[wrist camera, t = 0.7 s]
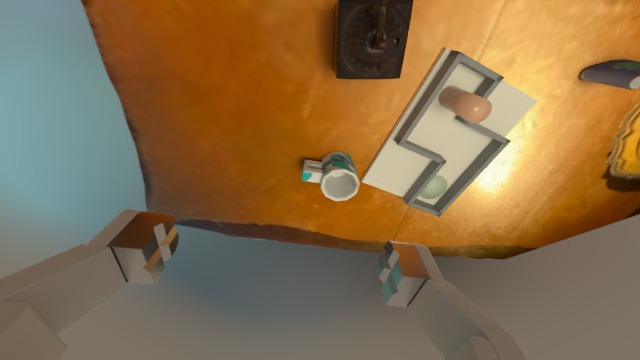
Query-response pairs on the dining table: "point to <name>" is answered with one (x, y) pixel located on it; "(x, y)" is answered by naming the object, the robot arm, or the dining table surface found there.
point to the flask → (614, 74)
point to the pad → (434, 188)
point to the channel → (446, 134)
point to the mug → (333, 175)
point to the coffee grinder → (370, 38)
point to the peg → (465, 104)
